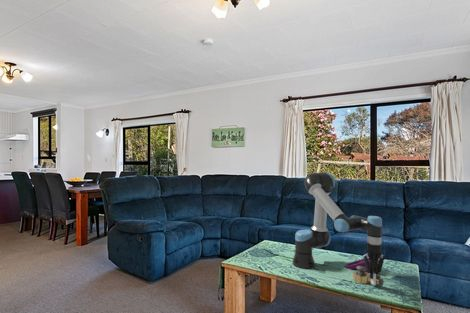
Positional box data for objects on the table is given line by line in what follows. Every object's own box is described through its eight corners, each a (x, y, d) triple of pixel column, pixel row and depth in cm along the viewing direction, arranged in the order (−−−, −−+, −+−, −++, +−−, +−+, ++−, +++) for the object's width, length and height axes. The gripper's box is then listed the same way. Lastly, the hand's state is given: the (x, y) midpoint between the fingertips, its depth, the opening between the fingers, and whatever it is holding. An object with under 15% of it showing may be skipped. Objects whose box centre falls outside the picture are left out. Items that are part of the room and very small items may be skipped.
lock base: (338, 284, 166) (338, 269, 166) (335, 275, 179) (335, 261, 179) (390, 290, 159) (390, 275, 159) (383, 280, 172) (383, 265, 172)
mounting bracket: (349, 280, 186) (376, 274, 177) (343, 267, 188) (370, 261, 179) (352, 275, 194) (378, 269, 185) (346, 263, 196) (372, 256, 187)
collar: (351, 280, 169) (351, 272, 169) (357, 276, 175) (357, 268, 175) (379, 289, 157) (379, 281, 157) (385, 285, 163) (385, 277, 163)
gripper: (366, 245, 157) (366, 287, 157) (389, 245, 158) (388, 287, 158) (360, 241, 165) (359, 281, 165) (381, 241, 166) (380, 281, 166)
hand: (373, 284), depth 161 cm, fingers closed
